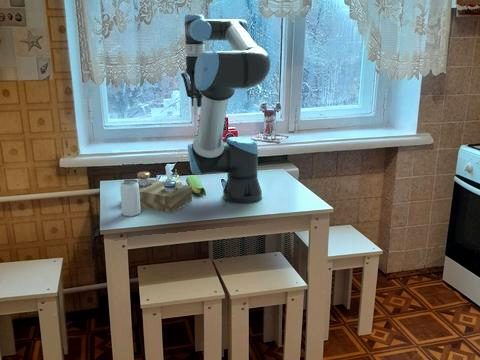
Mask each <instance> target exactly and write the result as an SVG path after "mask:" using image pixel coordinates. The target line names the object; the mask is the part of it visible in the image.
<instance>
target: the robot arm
mask: <svg viewBox="0 0 480 360" xmlns="http://www.w3.org/2000/svg"><path fill="white" fill-rule="evenodd" d="M183 24H184V35H185V37H184V38H185V40H184V41H185V55H186V56H185V65H186V68H185V71H184V72H181V73H180V75H181V77H182V79H183V83H184V84H183V85H184V88H185V92H186V97H188V98H190V99H191V107H192V108H193V115H194V116H199V123H198V132H197V133H198V134H197V136H196V137H195V138H194V139H193V142H192V143H190V144H187V152H188V153H187V154H188V159H189V160H188V161H189V165H190V171H191V173H192V175H195V176H199V175H200V176H204V175H216V174H225V173H226V174H227V178H226V182H225V183H224V184H225V186H224V188H223V191H222V193H223V194H222V198H223V199H224V200H225V201H228V202H230V203H235V204H236V203H237V204H249V203H254V202H257V201H260V200H261V199H262V197H263V194H262V193H263V192H262V191H263V190H262V188H261V185H260V181H259V178H258V168H259V167H258V160H259V159H258V157H259V156H258V155H259V152H258V151H259V150H258V143H257V142H256V141H255V140H253V139H250V138H247V137H241V136H240V137H239V136H230V137H227V138H226V141H224V140H223V134H224V127H225V121H226V116H227V109H228V104H229V99H231V98H233V96H234V94H235V90H240V89H242V90H243V89H251V88H254V87H256V86H258V85H260V84H261V83H262V82H263V81H264V80H266V78H267V76H268V74H269V72H270V69H271V60H270V57H269V54H268V53H267V51H266V50H265V49H264V48H262V47H261V46H258V45H257V43H256V42H255V41H254V40H253V39H252V37H251V36H250V34H249V25H248V21H247V20H245V19H238V18H237V19H236V18H234V19H205V17H204V15H203V14H186V15H185V16H184V23H183ZM205 41H206V42H207V41H227V43H228V45H229V46H230V47H231V49H232V50H227V51H226V50H224V51H223V50H222V51H218V50H210V51H209V50H208V51H206V50H205V49H206V48H205V47H206V46H205Z"/></svg>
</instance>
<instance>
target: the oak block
mask: <svg viewBox="0 0 480 360" xmlns="http://www.w3.org/2000/svg"><path fill="white" fill-rule="evenodd" d="M164 182H165V181H161V180H155V179H150V178H149V185H150V186H148V187H146V188H144V187H139V194H140V208H141V207H142V208H146V209H152V210H156V211H161V212H166V213H172V212H173V213H174V212H175V211H176V210H178V209H180V208H182V207H184V206H186V205H188V204H190V203H191V202H193V191H192V186H188V184H181V183H176V186H175V189H176V190H175V191H173V192H168V191H165V187H164ZM137 183H138V184H139V180H137Z"/></svg>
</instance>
